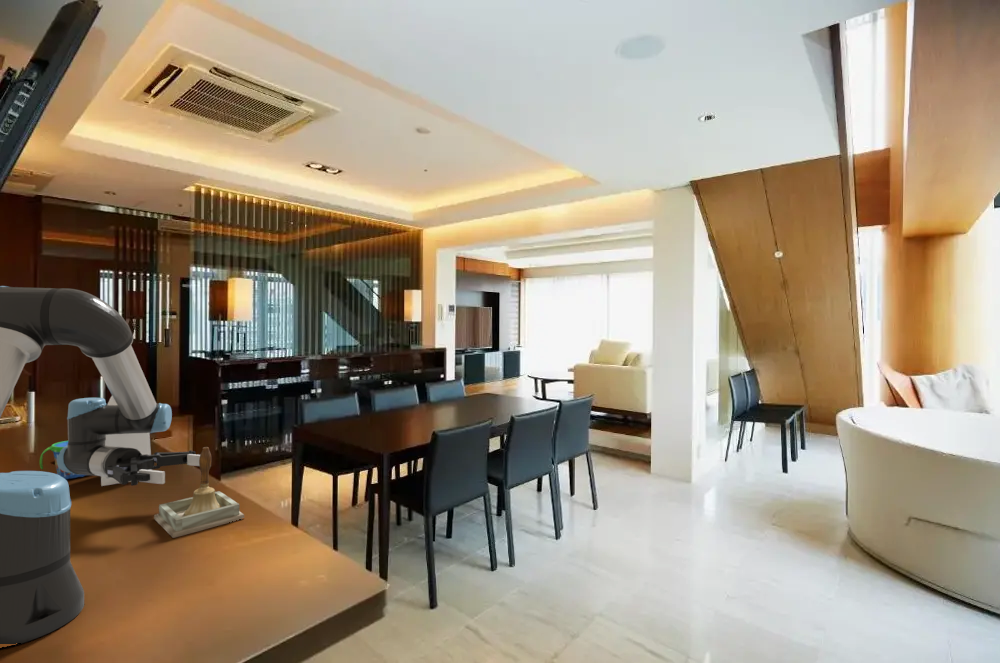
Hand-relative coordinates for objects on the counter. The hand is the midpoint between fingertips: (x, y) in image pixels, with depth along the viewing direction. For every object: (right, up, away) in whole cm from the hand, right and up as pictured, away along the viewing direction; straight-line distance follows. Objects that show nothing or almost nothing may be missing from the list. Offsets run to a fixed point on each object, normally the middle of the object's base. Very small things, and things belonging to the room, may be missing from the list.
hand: (187, 469), depth 122 cm
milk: (-37, -11, +29) cm, 48 cm away
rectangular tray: (+3, -12, -1) cm, 12 cm away
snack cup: (-53, -10, +29) cm, 61 cm away
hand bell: (+3, -11, +1) cm, 12 cm away
